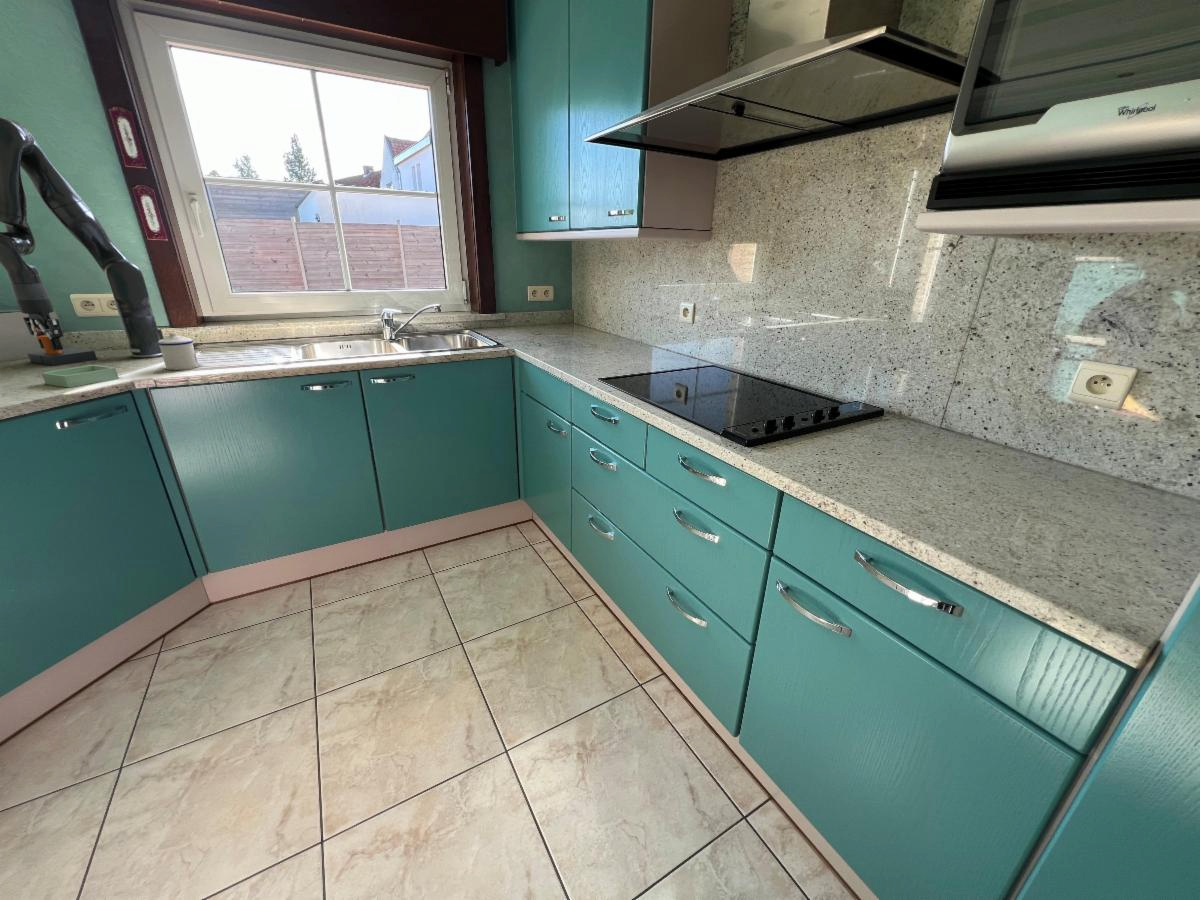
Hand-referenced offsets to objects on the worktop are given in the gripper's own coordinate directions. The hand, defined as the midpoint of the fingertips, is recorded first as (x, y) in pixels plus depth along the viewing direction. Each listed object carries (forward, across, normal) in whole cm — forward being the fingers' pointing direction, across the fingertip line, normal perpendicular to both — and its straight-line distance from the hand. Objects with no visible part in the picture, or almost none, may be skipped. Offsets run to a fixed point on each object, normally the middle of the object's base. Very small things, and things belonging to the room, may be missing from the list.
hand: (52, 348), depth 167 cm
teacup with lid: (+5, -43, -11) cm, 45 cm away
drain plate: (+4, 0, -2) cm, 5 cm away
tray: (+4, -38, +13) cm, 40 cm away
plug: (+4, 0, 0) cm, 4 cm away
